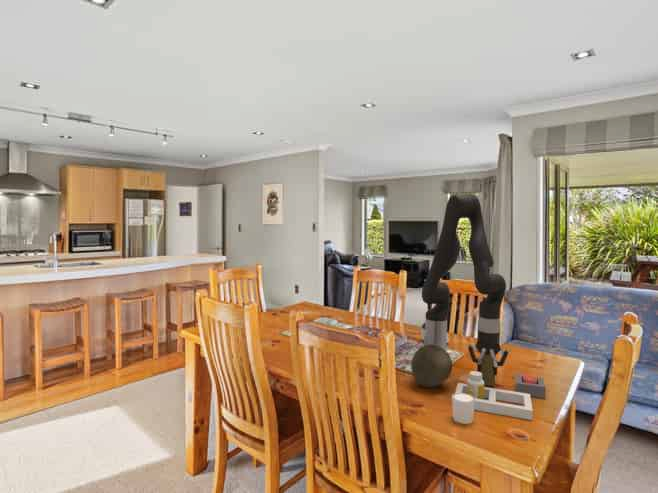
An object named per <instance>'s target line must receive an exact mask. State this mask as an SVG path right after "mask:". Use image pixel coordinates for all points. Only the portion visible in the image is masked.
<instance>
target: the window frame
mask: <svg viewBox="0 0 658 493" xmlns="http://www.w3.org/2000/svg"><path fill="white" fill-rule="evenodd" d="M455 393H466V394H467V383H461V382H458V383H457V386H456V388H455ZM455 393H454V394H455ZM499 401H500V402H499ZM502 401H503V402H502ZM504 402H506V403H504ZM507 402H508V403H507ZM513 403H514V404H513ZM516 404H517V405H516ZM518 404H519V405H518ZM520 404H521V405H520ZM474 411H479V412H484V413H489V414H495V415H500V416H506V417H513V418H517V419H523V420H528V421H533V412H534V410H533V405H532V398H531V397H530V394H527V393H520V392H516V391H513V390H506V389H500V388H495V387H488V386H484V400H482V399H477V398H475V406H474Z"/></svg>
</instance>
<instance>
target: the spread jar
mask: <svg viewBox="0 0 658 493" xmlns="http://www.w3.org/2000/svg"><path fill="white" fill-rule="evenodd" d="M425 319H426V318H424V320H425ZM420 331H421V332H420V334H421V340H422V341H423V342H424V336H425V322H423V324H421V330H420ZM448 343H450V339H449V335H448V334H447V344H448Z"/></svg>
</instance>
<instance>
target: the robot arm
mask: <svg viewBox="0 0 658 493" xmlns="http://www.w3.org/2000/svg"><path fill="white" fill-rule="evenodd" d="M481 206H482V205H481V202H480V200H479V198H478V196H477V195H476V194H474V193H455V194H452V195H450V197H449V198H448V200H447V202H446V207H445V211H444V218H443V223H442V226H441V227H442V228H441V231H440V234H439V237H438V238H439V239H438V241H437V245H436V248H435V251H434V255H433V259H432V262H431V265H430V269H429V272H428V274H427V276H426V279H425V281H424V283H423V285H422V290H421V298H422V301H423V303H425V304H427V305H434V306H433V307H432V308H430V309H428V310H427V311H426V312H425V318H426V319H425V318H424V323H425V336H424V341H423V346H424V345H429V344H433V345H437V346H440V347H441V348H443V349H444V350H445V351H446V352H447V351H448V350H447V349H448V348H447V344H448V343H447V335H448V316H449V313H450V311H449V310H450V298H451V296H450V295H451V294H450V293H451V292H450V288H449V285H448V284H447V283H446V282H445V281H444V282H442V281H441V279H442V278H443V277H444V276H445V275H446V274H447V273H448V272H449V271H450V270H451V269H452V268H453V267H454V266H455V265H456V263H457V261H458V257H459V255H460V252H461V242H460V239H459V237H458V233H457V228H458V225H459V221H460V219H465V218H467V219H468V221H469V224H470V235H469V236H470V237H469V241H468V252H469V255H470V259H471V262H472V265H473V277H474V278H473V279H474V286H475V289H476V290H477V292H478V293H480V294H481V295H485V296H486V295H487V296H486V298H485V299H482V300H481V301H480V302H479V306H478V320H477V338H476V341H477V342H476V343H475V344H468V351H469V354H470V357H471V361H472V363H476V364H477V368H476V371H477V372H480V371H481V362H482V361H481V359H482V356H483V355H484V354H490V355H491V356H492V357H493V361H494V362H493V364H494V367H493V372H494V377H495V378H496V376H497V375H498V367H503V366H504V364H505V362H506V360H507V358H508V355H509V350H508V349H505V348H502V347H501V344H500V341H501V340H500V339H501V305H502V302H503V300H504V297H505V294H506V291H507V283H506V280H505V278H504V276H503V275H502V274H499V273H491V274H489V269H491V268H492V267H494V263H495V262H494V258H493V255H492V253H491V249H490V247H489V244H488V243H489V242H488V240H487V236H486V231H485V225H484V224H485V223H484V218H483V217H484V216H483V211H482V207H481ZM476 349H477V351H478V352H479V356H478V358H477V357H476V353H475V352H476ZM499 353H500V355H501V357H500V359H499V361H498V360H497V355H498V354H499Z"/></svg>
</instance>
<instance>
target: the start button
mask: <svg viewBox="0 0 658 493" xmlns="http://www.w3.org/2000/svg"><path fill="white" fill-rule="evenodd" d="M535 377H536V376H535ZM535 377H533V375H528V376H523V382H526V383H533V384H537V378H535Z"/></svg>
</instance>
